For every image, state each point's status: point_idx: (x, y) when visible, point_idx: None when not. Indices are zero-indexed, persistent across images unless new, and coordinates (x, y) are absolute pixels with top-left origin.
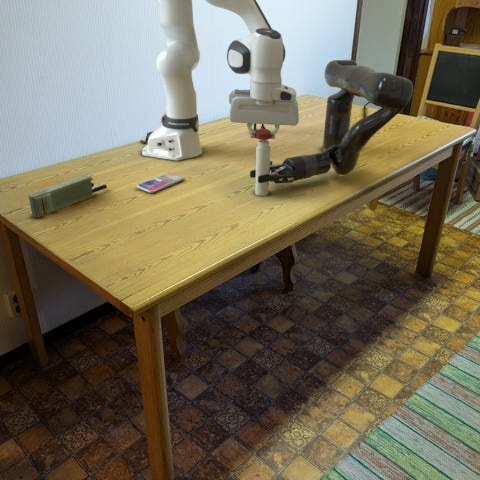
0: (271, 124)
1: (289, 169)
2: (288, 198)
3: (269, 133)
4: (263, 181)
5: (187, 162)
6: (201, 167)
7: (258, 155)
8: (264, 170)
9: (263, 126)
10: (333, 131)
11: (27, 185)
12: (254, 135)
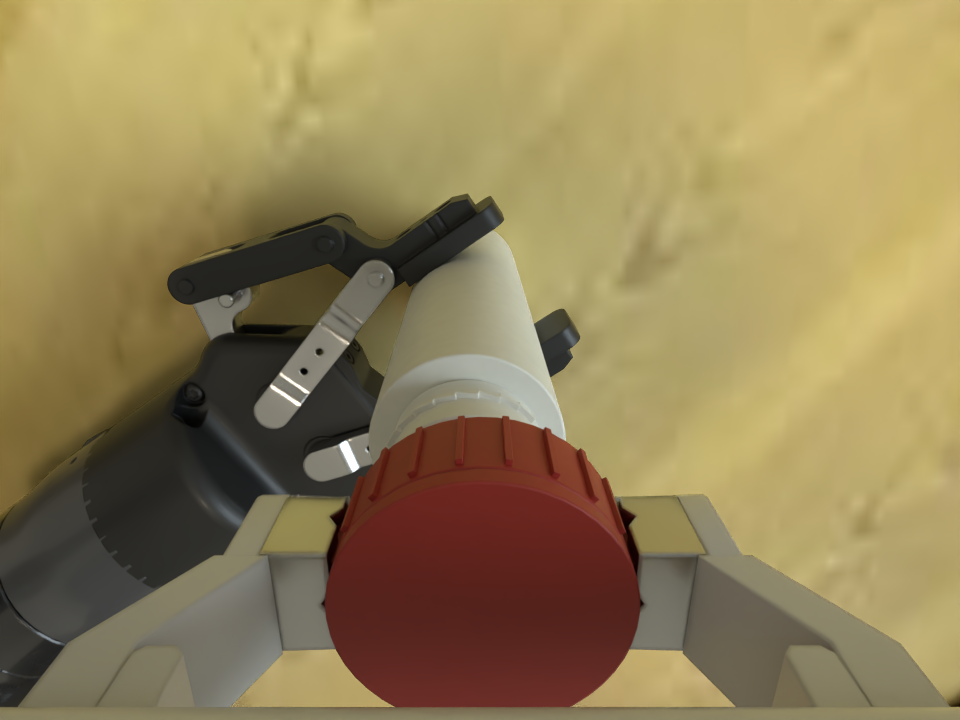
0: (227, 708)
1: (230, 408)
2: (266, 202)
3: (342, 545)
4: (450, 200)
5: (943, 667)
6: (863, 612)
7: (522, 334)
8: (444, 275)
9: None
10: None
11: None
12: (643, 517)
